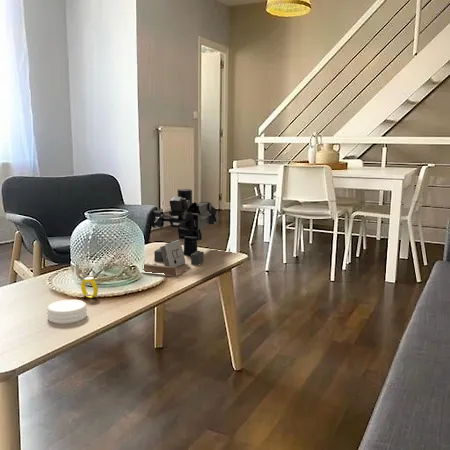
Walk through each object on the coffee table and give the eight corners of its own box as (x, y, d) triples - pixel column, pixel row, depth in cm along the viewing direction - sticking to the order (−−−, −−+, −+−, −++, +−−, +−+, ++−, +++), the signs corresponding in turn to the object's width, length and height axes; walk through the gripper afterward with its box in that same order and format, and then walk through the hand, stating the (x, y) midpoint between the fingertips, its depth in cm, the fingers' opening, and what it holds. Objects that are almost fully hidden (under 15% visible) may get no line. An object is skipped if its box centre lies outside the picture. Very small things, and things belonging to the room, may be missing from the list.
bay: (153, 264, 183) (153, 256, 183) (190, 267, 179) (190, 259, 179) (139, 272, 172) (139, 264, 171) (177, 276, 168) (177, 268, 167)
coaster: (73, 308, 137) (72, 296, 136) (94, 317, 131) (94, 304, 130) (40, 318, 129) (39, 305, 128) (61, 327, 123) (60, 314, 122)
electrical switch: (172, 269, 177) (170, 244, 176) (160, 268, 180) (158, 243, 178) (186, 263, 185) (184, 239, 184) (174, 263, 188) (172, 239, 187)
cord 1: (160, 257, 194) (160, 247, 193) (167, 258, 193) (167, 248, 192) (154, 261, 188) (154, 251, 187) (161, 262, 187) (161, 251, 186)
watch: (79, 297, 146) (78, 277, 145) (87, 294, 148) (85, 275, 148) (92, 300, 143) (91, 280, 142) (100, 297, 145) (98, 278, 144)
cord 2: (196, 261, 190) (196, 251, 189) (203, 261, 189) (203, 251, 188) (191, 264, 184) (191, 254, 183) (198, 265, 183) (198, 255, 183)
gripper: (159, 194, 189) (142, 201, 174) (205, 197, 184) (191, 204, 170) (160, 222, 192) (143, 231, 177) (205, 226, 187) (191, 235, 172)
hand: (166, 225), depth 174 cm, fingers open, 9 cm apart
